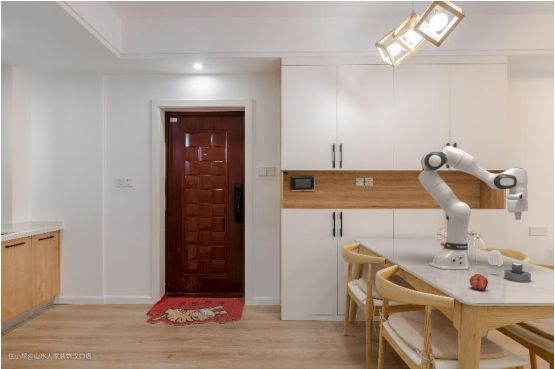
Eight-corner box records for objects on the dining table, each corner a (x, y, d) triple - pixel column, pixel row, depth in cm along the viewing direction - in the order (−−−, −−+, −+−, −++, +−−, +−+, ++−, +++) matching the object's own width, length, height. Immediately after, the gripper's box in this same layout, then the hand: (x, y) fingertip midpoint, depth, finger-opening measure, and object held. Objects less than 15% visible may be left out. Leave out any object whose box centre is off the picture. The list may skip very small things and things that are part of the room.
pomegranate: (469, 291, 174) (465, 281, 168) (474, 277, 177) (470, 268, 171) (486, 296, 169) (482, 286, 163) (491, 282, 172) (487, 272, 166)
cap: (516, 280, 185) (516, 265, 185) (509, 278, 190) (509, 263, 190) (524, 280, 186) (524, 264, 186) (517, 278, 190) (517, 262, 190)
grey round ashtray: (516, 282, 182) (516, 274, 182) (499, 277, 192) (499, 269, 192) (535, 282, 183) (535, 274, 183) (518, 276, 194) (518, 269, 194)
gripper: (518, 195, 217) (518, 218, 217) (505, 195, 205) (504, 220, 205) (531, 195, 212) (531, 219, 212) (517, 196, 200) (517, 221, 200)
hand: (518, 219), depth 209 cm, fingers closed
